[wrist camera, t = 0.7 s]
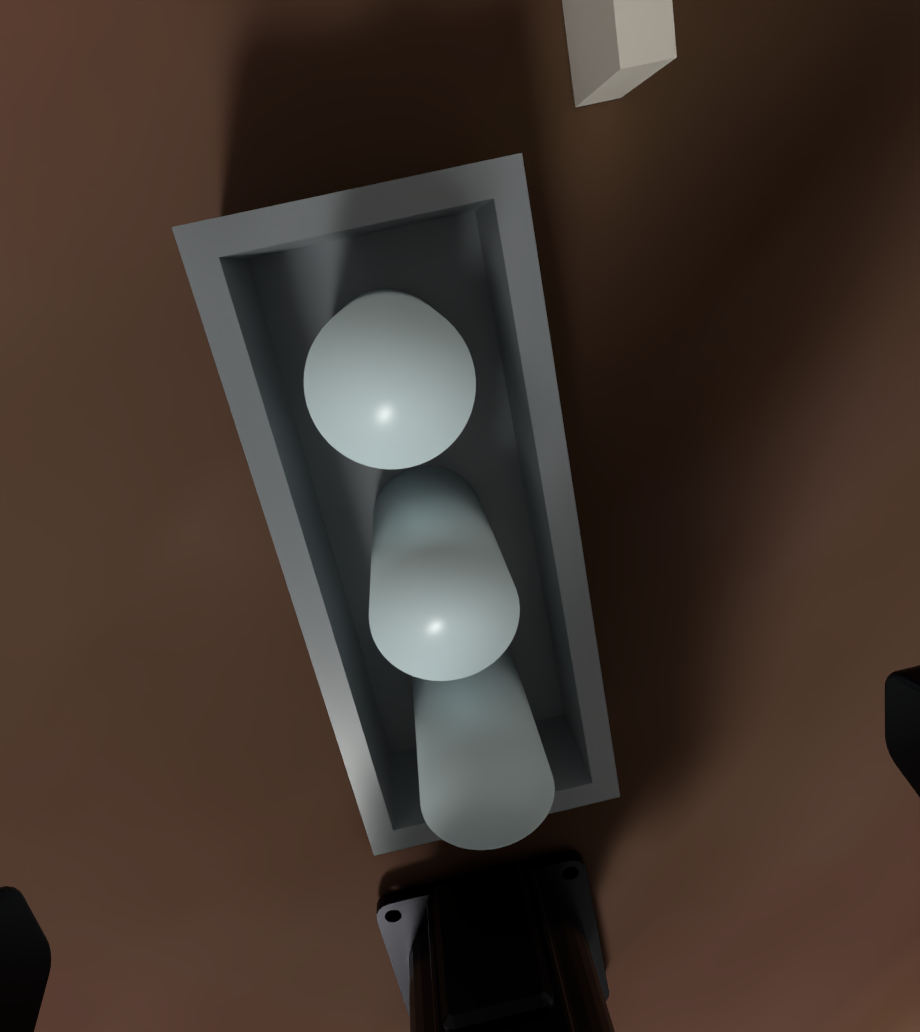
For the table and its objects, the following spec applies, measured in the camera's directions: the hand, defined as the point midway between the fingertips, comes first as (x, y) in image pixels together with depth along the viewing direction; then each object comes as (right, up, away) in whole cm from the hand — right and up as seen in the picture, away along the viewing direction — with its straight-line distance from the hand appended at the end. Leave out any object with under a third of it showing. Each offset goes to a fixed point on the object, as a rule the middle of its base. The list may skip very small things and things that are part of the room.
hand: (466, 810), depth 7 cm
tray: (-1, +3, +10) cm, 11 cm away
